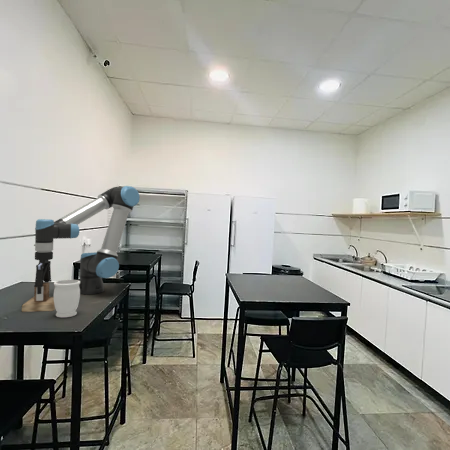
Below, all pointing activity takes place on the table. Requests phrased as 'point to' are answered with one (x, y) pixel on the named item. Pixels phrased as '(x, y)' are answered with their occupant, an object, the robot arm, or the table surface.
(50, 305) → the base
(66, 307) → the jar
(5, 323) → the table surface
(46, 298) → the block
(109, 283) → the table surface
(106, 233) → the robot arm
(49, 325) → the table surface
